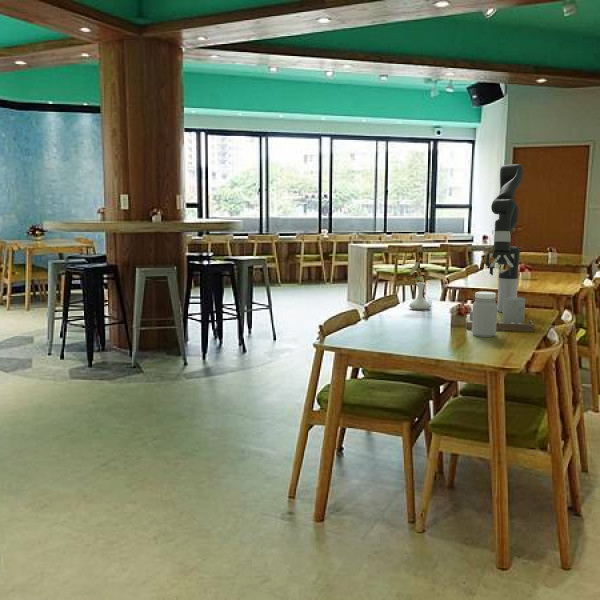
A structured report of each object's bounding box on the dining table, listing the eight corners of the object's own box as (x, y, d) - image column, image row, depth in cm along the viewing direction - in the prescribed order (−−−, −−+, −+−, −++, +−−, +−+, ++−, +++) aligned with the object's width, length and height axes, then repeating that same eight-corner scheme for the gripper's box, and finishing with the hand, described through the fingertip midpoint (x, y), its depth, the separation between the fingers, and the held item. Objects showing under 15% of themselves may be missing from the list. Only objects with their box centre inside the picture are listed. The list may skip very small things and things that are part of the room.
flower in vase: (418, 306, 346) (419, 260, 343) (435, 309, 338) (437, 261, 334) (402, 309, 338) (403, 261, 334) (419, 312, 329) (420, 263, 326)
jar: (500, 337, 268) (502, 294, 265) (478, 338, 266) (480, 294, 264) (489, 332, 278) (491, 290, 275) (467, 333, 276) (469, 291, 273)
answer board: (465, 324, 296) (465, 316, 296) (530, 326, 290) (531, 319, 290) (466, 329, 284) (466, 321, 284) (534, 331, 278) (534, 324, 278)
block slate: (470, 318, 312) (471, 310, 311) (479, 319, 310) (479, 310, 310) (469, 319, 308) (470, 311, 307) (478, 320, 306) (478, 312, 306)
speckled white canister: (521, 323, 299) (522, 296, 297) (526, 327, 289) (527, 300, 287) (500, 322, 300) (501, 296, 298) (504, 326, 290) (505, 299, 288)
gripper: (516, 242, 310) (515, 275, 310) (485, 241, 313) (485, 275, 313) (518, 240, 303) (517, 275, 303) (487, 240, 306) (486, 274, 306)
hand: (501, 275), depth 308 cm, fingers open, 8 cm apart
